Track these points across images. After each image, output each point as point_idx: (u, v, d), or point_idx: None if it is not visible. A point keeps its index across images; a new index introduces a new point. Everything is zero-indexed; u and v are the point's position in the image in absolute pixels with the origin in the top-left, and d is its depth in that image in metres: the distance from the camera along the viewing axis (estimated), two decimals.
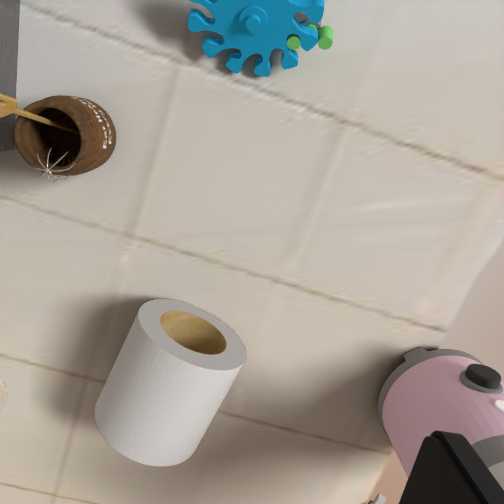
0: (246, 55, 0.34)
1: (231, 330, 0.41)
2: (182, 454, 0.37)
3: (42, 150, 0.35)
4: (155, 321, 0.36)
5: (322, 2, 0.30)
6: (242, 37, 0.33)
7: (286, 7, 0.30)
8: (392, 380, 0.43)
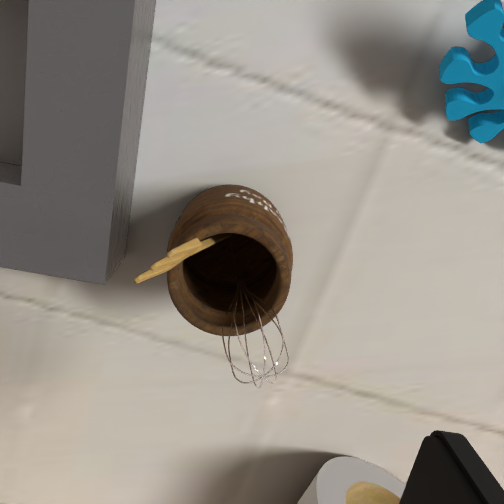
0: None
1: None
2: None
3: None
4: None
5: None
6: None
7: None
8: None
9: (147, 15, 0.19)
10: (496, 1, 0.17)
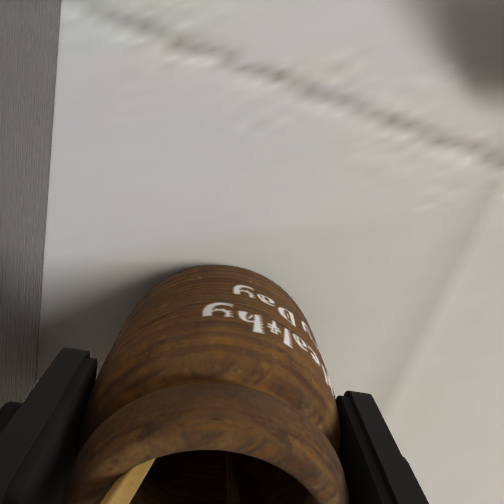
0: None
1: None
2: None
3: None
4: None
5: None
6: None
7: None
8: None
9: None
10: None
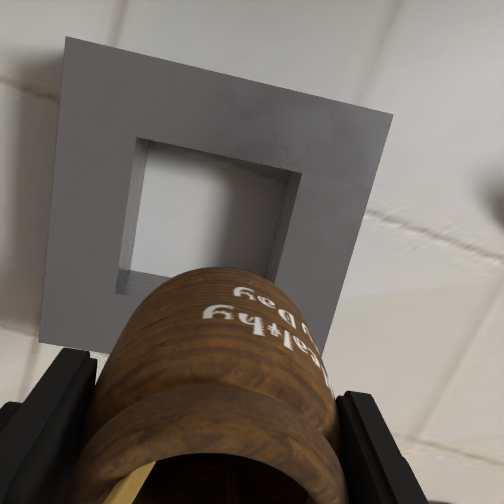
0: None
1: None
2: None
3: None
4: None
5: None
6: None
7: None
8: None
9: None
10: None
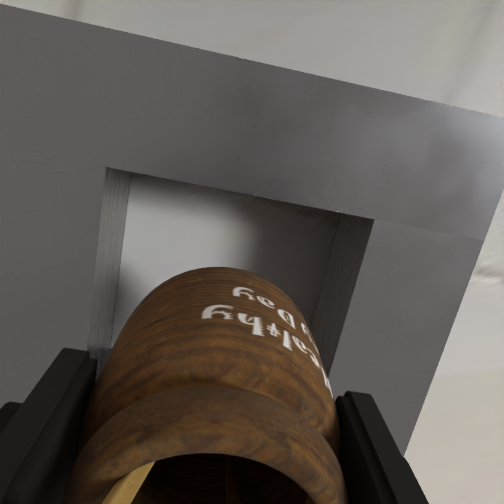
0: None
1: None
2: None
3: None
4: None
5: None
6: None
7: None
8: None
9: None
10: None
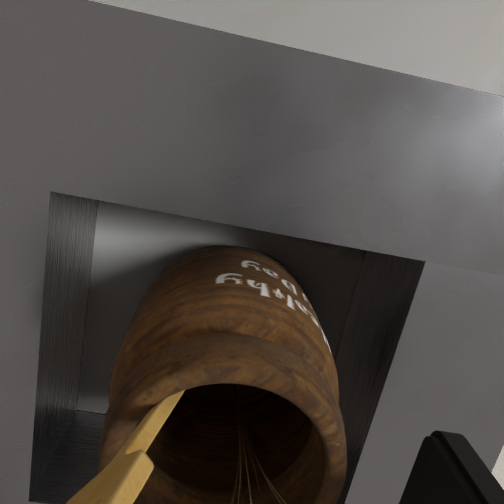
0: None
1: None
2: None
3: None
4: None
5: None
6: None
7: None
8: None
9: None
10: None
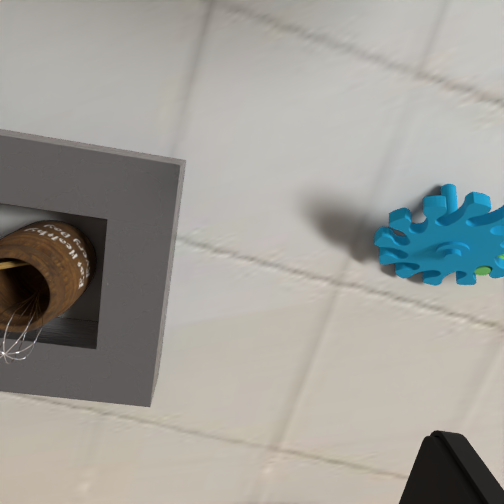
0: (423, 269, 0.32)
1: None
2: None
3: (7, 287, 0.29)
4: None
5: None
6: (429, 258, 0.30)
7: (495, 249, 0.28)
8: None
9: (175, 233, 0.30)
10: (406, 212, 0.27)
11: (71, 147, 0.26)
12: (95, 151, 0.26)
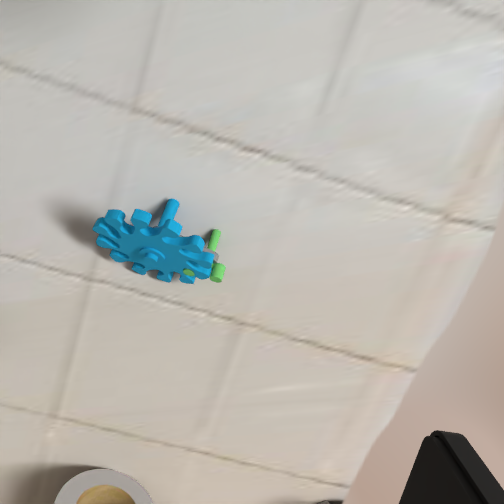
0: (149, 268, 0.38)
1: (148, 497, 0.45)
2: None
3: None
4: None
5: (211, 258, 0.34)
6: (144, 259, 0.37)
7: (180, 255, 0.34)
8: None
9: None
10: (102, 221, 0.34)
11: None
12: None
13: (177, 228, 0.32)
